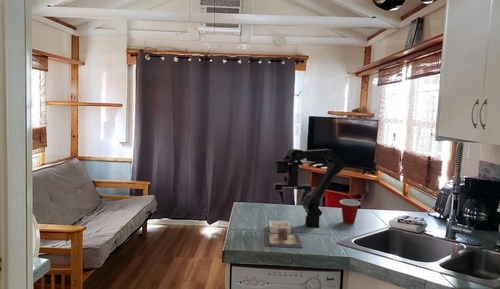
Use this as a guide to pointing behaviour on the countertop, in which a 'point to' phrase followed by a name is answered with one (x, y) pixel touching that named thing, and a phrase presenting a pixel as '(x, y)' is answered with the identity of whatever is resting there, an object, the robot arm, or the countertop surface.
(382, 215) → the countertop surface
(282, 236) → the lid
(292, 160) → the robot arm
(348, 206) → the plastic cup
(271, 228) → the dish
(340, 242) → the countertop surface
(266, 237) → the mat
